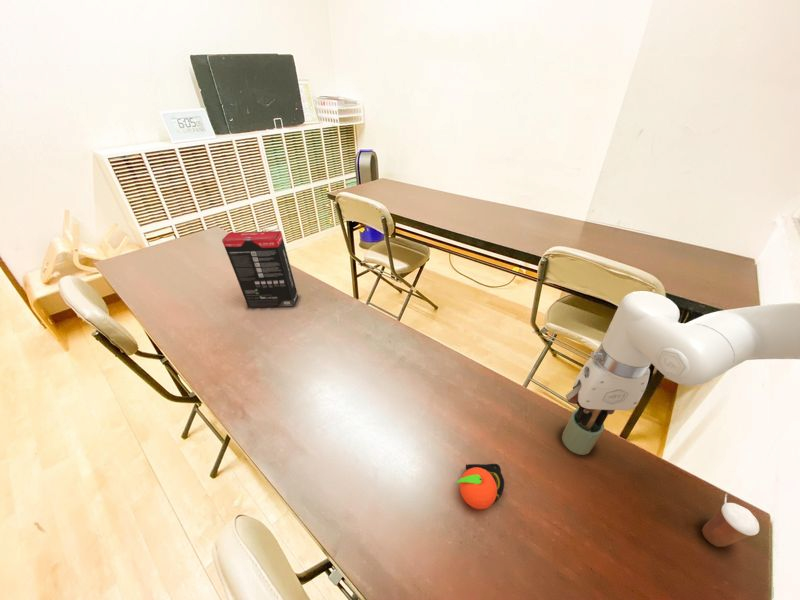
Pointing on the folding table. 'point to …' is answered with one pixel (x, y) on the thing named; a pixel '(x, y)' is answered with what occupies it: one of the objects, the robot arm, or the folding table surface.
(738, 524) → the milkshake
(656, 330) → the robot arm
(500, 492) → the tape measure
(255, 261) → the graphics card box
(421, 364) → the folding table surface
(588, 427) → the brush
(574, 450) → the cup
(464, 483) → the clementine
